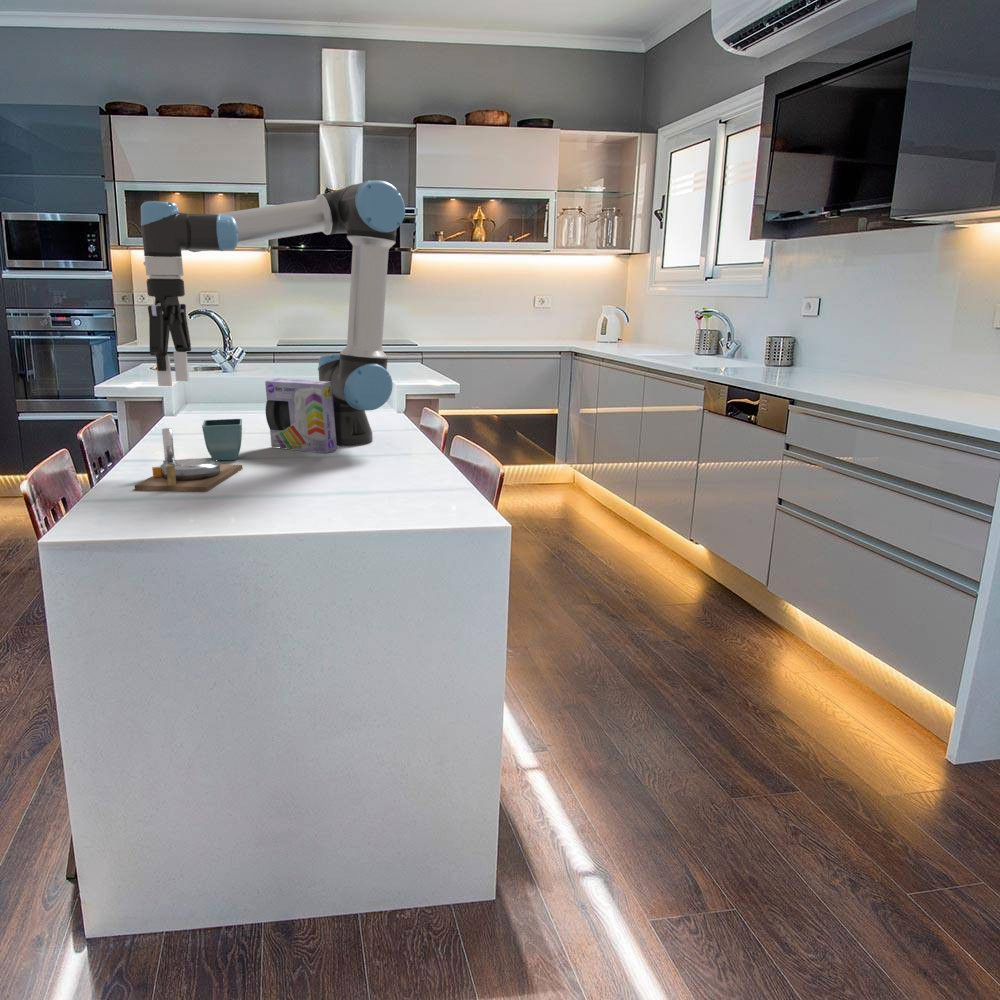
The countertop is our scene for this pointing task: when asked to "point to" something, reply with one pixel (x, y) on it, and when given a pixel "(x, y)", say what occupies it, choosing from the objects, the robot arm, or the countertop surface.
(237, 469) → the base
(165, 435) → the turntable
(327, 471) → the countertop surface
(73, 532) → the countertop surface
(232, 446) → the flower pot
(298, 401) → the cake pan box
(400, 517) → the countertop surface
